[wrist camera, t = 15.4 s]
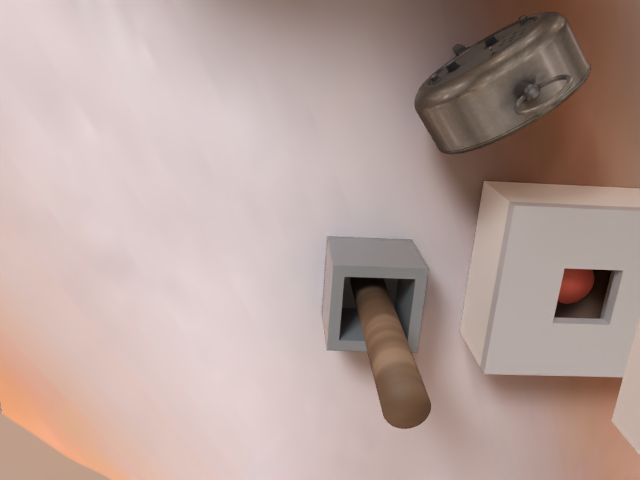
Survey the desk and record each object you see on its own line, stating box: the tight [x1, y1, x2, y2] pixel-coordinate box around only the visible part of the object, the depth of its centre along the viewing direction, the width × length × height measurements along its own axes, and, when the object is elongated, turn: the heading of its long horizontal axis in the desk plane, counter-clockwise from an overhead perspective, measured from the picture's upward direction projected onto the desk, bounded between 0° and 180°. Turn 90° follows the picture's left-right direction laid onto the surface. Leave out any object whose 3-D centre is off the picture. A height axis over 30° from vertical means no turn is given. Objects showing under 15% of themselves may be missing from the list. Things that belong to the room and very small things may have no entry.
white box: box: [460, 181, 640, 377], centre depth 49 cm, size 14×14×7 cm
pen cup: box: [322, 236, 429, 353], centre depth 49 cm, size 7×7×6 cm
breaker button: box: [558, 268, 594, 303], centre depth 50 cm, size 4×4×3 cm
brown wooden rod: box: [350, 277, 431, 429], centre depth 43 cm, size 3×3×18 cm
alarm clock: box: [415, 12, 591, 154], centre depth 39 cm, size 11×5×16 cm, turn 123°
